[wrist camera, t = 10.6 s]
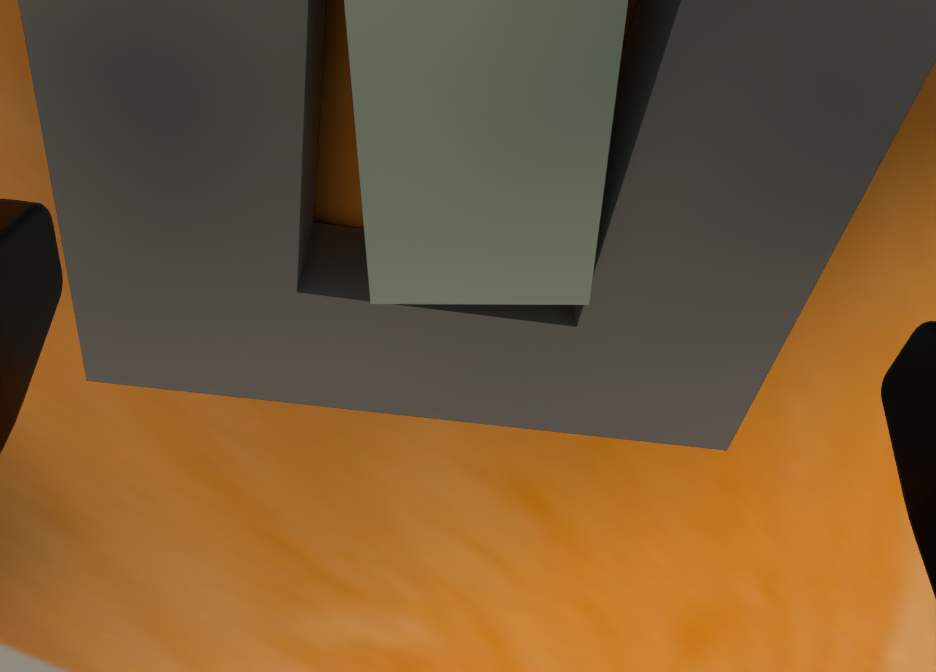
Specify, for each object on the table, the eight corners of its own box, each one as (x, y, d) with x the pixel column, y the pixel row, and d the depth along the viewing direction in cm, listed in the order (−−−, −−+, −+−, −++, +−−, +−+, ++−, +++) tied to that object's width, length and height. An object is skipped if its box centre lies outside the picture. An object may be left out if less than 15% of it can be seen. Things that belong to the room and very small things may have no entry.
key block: (616, -248, 13) (655, -217, 10) (570, 204, 18) (588, 304, 15) (354, -251, 13) (324, -220, 10) (384, 203, 18) (370, 303, 15)
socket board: (702, 375, 21) (727, 454, 19) (124, 306, 19) (85, 384, 17) (1102, -480, 11) (1245, -508, 9) (-16, -761, 9) (-144, -869, 7)
